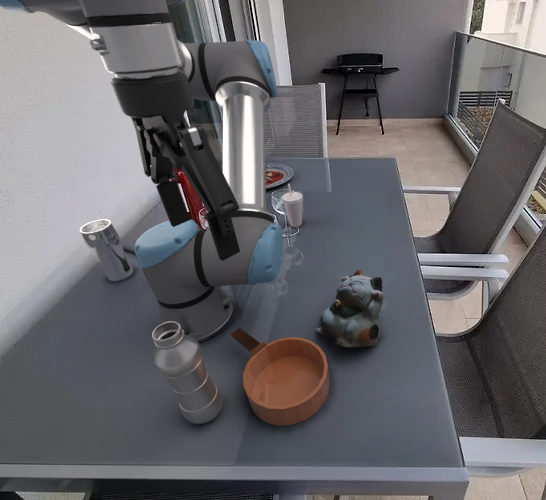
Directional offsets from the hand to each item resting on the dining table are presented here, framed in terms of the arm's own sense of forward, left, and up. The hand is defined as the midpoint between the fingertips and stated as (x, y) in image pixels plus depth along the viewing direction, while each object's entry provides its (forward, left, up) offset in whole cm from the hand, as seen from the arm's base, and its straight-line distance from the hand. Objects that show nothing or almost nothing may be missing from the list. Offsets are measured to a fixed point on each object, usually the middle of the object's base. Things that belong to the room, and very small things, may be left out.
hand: (203, 238), depth 50 cm
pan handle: (-1, +2, -27) cm, 28 cm away
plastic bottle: (+1, -10, -30) cm, 32 cm away
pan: (+9, +2, -30) cm, 31 cm away
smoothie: (-33, +43, -30) cm, 62 cm away
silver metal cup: (-52, -3, -30) cm, 60 cm away
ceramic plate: (-70, +59, -30) cm, 96 cm away
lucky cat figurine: (+9, +20, -30) cm, 37 cm away
